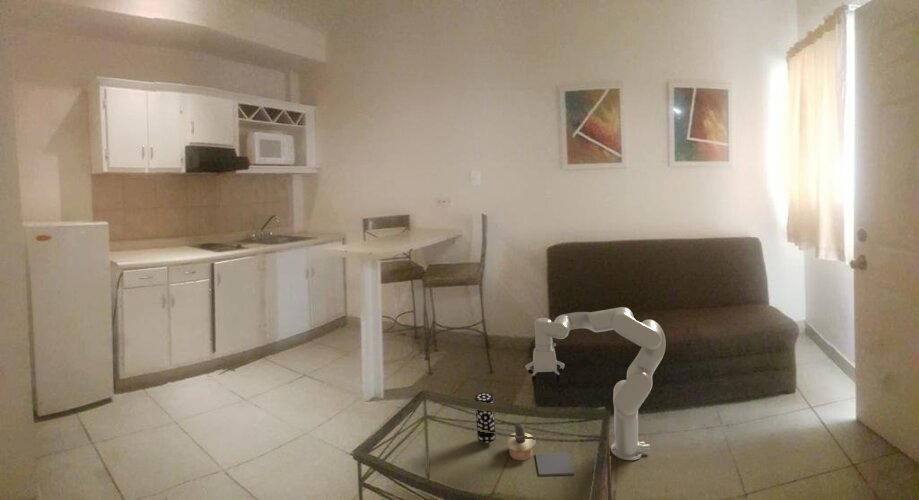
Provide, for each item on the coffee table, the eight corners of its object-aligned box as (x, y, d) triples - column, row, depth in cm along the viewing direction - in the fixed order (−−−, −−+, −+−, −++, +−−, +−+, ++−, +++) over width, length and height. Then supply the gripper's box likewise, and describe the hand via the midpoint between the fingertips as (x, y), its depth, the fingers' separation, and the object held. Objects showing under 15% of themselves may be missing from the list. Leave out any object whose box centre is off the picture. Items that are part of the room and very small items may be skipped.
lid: (533, 433, 201) (533, 417, 200) (537, 451, 188) (536, 433, 187) (505, 434, 202) (504, 418, 201) (506, 452, 189) (505, 434, 188)
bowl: (531, 446, 201) (530, 435, 200) (533, 459, 191) (533, 449, 190) (509, 446, 201) (508, 436, 200) (510, 460, 191) (509, 449, 191)
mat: (567, 453, 193) (567, 452, 193) (574, 474, 179) (574, 473, 179) (535, 454, 194) (535, 453, 194) (539, 475, 180) (539, 474, 180)
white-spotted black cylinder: (496, 442, 201) (493, 400, 198) (477, 443, 201) (475, 401, 198) (495, 432, 209) (492, 392, 206) (477, 433, 209) (474, 393, 206)
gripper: (562, 342, 200) (563, 378, 202) (523, 344, 201) (525, 379, 204) (565, 348, 192) (566, 385, 195) (525, 350, 194) (527, 387, 196)
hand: (545, 382), depth 199 cm, fingers open, 9 cm apart
